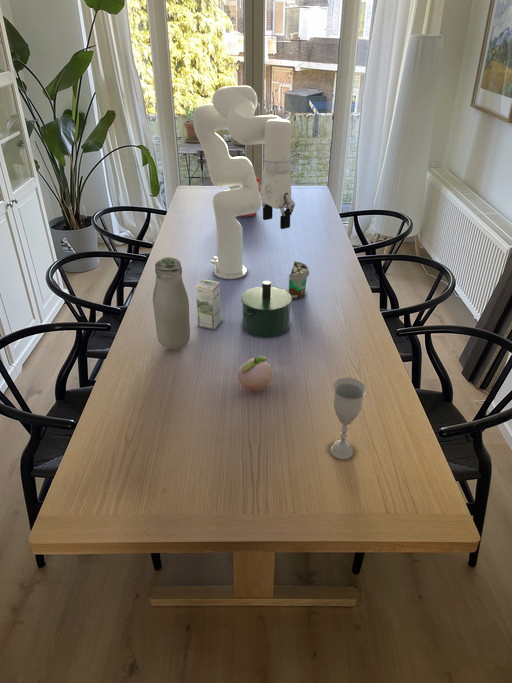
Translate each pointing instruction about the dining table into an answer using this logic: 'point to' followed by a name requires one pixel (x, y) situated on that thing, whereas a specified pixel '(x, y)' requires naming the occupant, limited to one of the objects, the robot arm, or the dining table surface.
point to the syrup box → (208, 304)
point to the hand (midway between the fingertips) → (276, 223)
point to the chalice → (346, 411)
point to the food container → (298, 280)
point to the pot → (266, 322)
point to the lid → (266, 298)
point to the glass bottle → (171, 304)
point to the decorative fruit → (255, 374)
